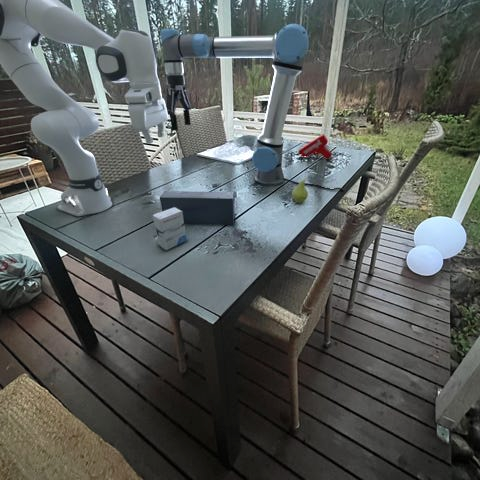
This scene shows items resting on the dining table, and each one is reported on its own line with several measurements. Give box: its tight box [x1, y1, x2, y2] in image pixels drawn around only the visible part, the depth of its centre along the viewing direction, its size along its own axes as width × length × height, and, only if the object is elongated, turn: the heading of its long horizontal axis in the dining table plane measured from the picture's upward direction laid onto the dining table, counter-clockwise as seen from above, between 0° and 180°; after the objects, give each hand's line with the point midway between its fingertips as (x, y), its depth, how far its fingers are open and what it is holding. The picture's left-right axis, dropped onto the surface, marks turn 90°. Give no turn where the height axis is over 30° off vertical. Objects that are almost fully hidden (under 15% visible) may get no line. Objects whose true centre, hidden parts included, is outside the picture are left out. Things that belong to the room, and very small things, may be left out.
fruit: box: [291, 174, 311, 204], centre depth 118 cm, size 7×8×12 cm
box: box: [159, 190, 235, 226], centre depth 104 cm, size 27×6×11 cm, turn 87°
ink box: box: [152, 207, 187, 251], centre depth 91 cm, size 8×5×12 cm, turn 135°
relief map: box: [196, 141, 255, 166], centre depth 184 cm, size 27×35×5 cm
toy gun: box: [298, 133, 333, 161], centre depth 176 cm, size 18×4×15 cm
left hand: (155, 139), depth 92 cm, fingers open, 8 cm apart
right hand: (181, 127), depth 128 cm, fingers open, 13 cm apart
